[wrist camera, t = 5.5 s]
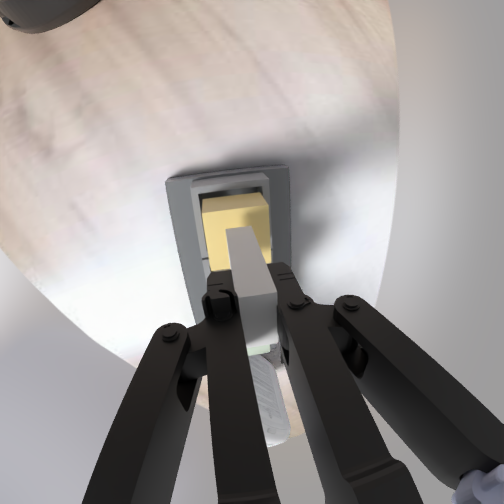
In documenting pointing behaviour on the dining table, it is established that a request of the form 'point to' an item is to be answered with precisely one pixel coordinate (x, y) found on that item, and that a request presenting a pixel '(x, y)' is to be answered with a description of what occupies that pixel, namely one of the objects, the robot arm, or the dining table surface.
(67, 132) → the dining table surface
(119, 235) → the dining table surface
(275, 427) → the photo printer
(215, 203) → the key ochre
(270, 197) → the keypad
